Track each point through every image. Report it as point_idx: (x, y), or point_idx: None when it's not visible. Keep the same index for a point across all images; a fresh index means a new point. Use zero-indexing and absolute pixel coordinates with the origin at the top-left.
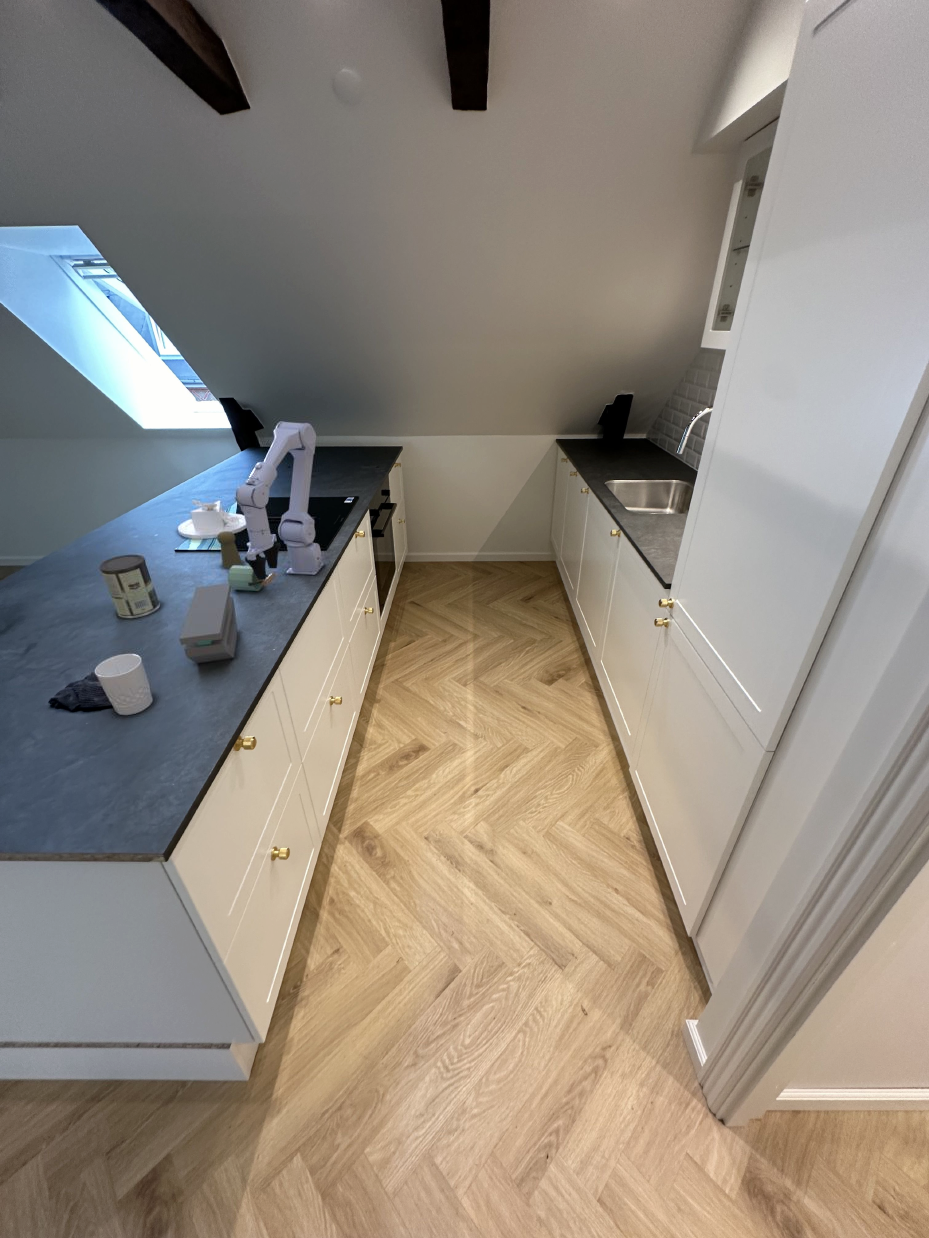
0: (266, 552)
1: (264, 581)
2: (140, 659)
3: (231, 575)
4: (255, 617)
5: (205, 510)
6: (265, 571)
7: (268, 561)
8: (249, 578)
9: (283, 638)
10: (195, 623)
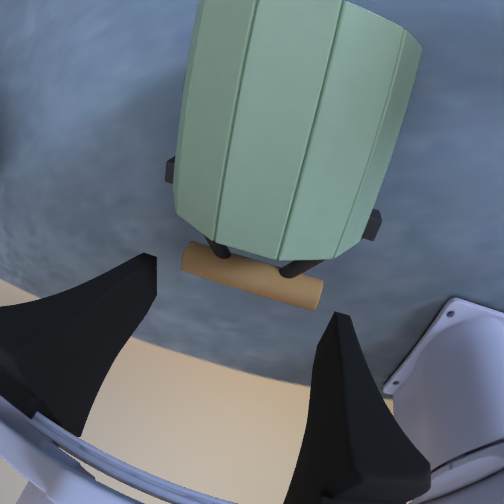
0: (329, 432)
1: (183, 265)
2: None
3: (199, 22)
4: (49, 207)
5: None
6: (126, 338)
7: (332, 357)
8: (175, 181)
9: (13, 284)
10: None
